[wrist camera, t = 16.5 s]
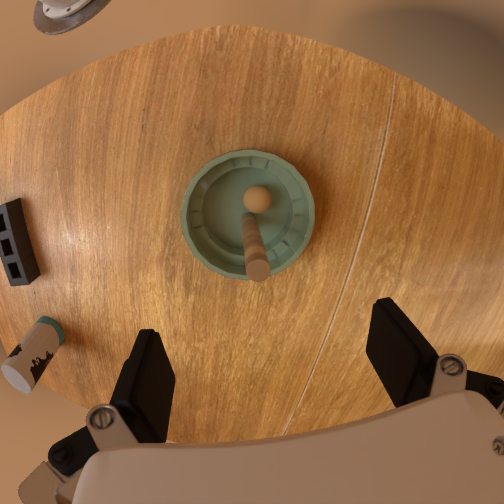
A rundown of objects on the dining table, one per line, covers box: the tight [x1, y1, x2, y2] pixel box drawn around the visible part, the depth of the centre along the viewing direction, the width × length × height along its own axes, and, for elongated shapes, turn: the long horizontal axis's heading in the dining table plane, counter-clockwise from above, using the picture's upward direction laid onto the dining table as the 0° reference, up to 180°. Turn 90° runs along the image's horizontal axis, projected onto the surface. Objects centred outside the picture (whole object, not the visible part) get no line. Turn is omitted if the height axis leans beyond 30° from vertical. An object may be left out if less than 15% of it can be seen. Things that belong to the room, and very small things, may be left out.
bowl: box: [180, 149, 315, 280], centre depth 35 cm, size 15×15×6 cm
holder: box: [0, 198, 41, 286], centre depth 34 cm, size 14×6×4 cm, turn 5°
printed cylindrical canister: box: [1, 316, 64, 394], centre depth 36 cm, size 7×7×15 cm
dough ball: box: [243, 185, 272, 213], centre depth 35 cm, size 4×4×4 cm
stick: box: [241, 212, 271, 282], centre depth 30 cm, size 2×2×16 cm
